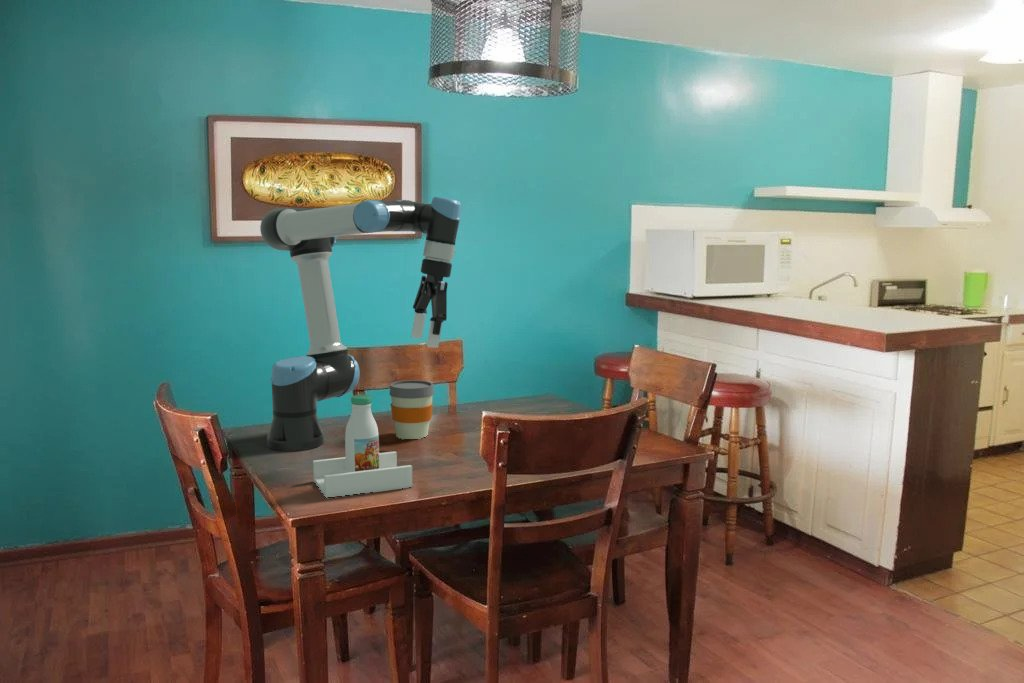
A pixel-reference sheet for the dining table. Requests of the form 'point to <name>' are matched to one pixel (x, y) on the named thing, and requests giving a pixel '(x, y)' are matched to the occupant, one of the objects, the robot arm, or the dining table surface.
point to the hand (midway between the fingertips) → (424, 342)
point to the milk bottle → (361, 436)
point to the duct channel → (361, 476)
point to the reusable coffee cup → (411, 408)
